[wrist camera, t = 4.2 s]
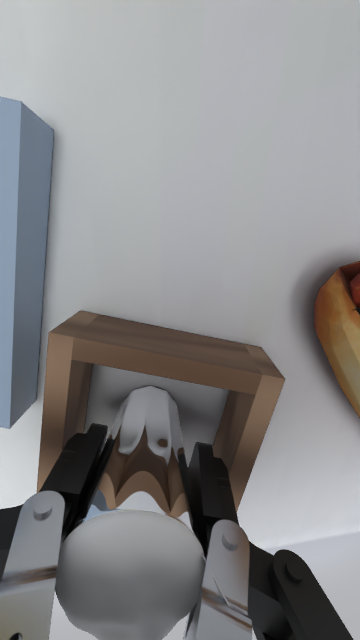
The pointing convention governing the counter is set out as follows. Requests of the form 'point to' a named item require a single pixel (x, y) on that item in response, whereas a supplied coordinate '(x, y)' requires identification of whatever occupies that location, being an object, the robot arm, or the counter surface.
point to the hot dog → (341, 328)
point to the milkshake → (134, 530)
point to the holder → (165, 361)
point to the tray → (22, 252)
